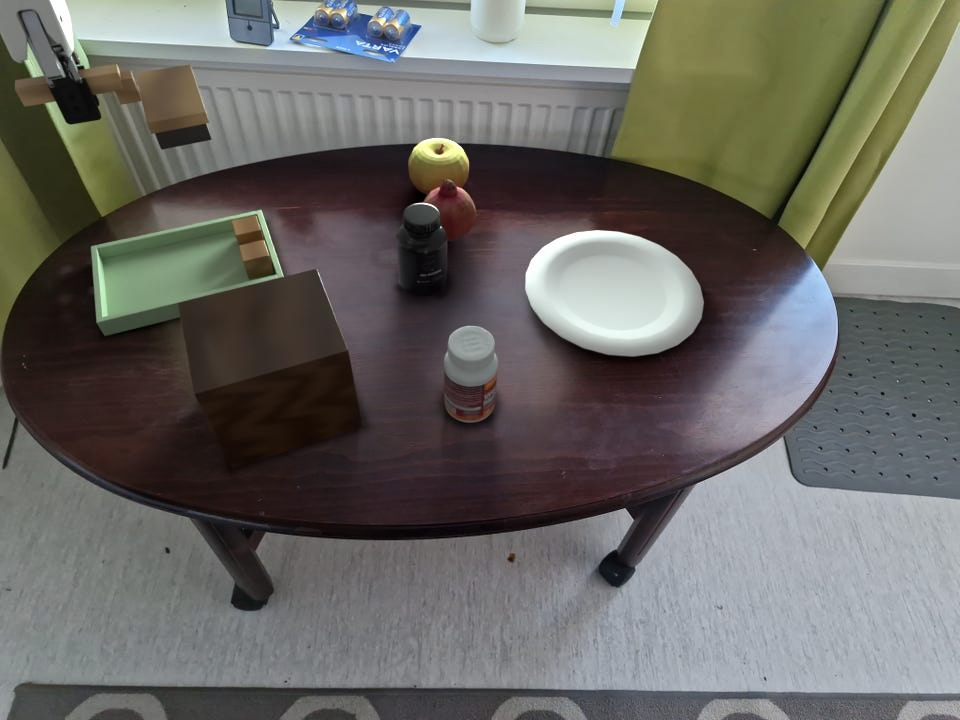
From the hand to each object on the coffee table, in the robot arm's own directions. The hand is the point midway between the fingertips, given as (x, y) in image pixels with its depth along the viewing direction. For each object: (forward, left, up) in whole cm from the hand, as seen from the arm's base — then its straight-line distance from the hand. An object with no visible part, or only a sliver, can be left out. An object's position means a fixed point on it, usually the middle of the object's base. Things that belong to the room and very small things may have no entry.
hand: (83, 113), depth 65 cm
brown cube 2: (+12, +10, -28) cm, 32 cm away
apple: (+43, +14, -29) cm, 53 cm away
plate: (+57, -18, -29) cm, 66 cm away
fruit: (+40, +2, -29) cm, 49 cm away
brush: (+3, 0, -3) cm, 4 cm away
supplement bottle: (+33, -6, -29) cm, 44 cm away
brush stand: (+10, -20, -29) cm, 37 cm away
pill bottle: (+31, -28, -29) cm, 51 cm away
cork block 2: (+12, +4, -28) cm, 31 cm away
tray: (+3, +7, -29) cm, 30 cm away
